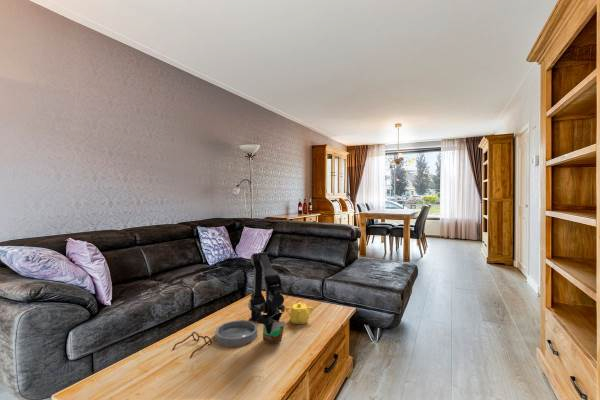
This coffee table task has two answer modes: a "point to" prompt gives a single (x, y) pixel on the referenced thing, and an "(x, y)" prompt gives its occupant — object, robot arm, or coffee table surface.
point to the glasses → (197, 340)
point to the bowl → (236, 333)
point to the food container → (274, 332)
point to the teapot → (299, 313)
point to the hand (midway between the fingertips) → (271, 331)
